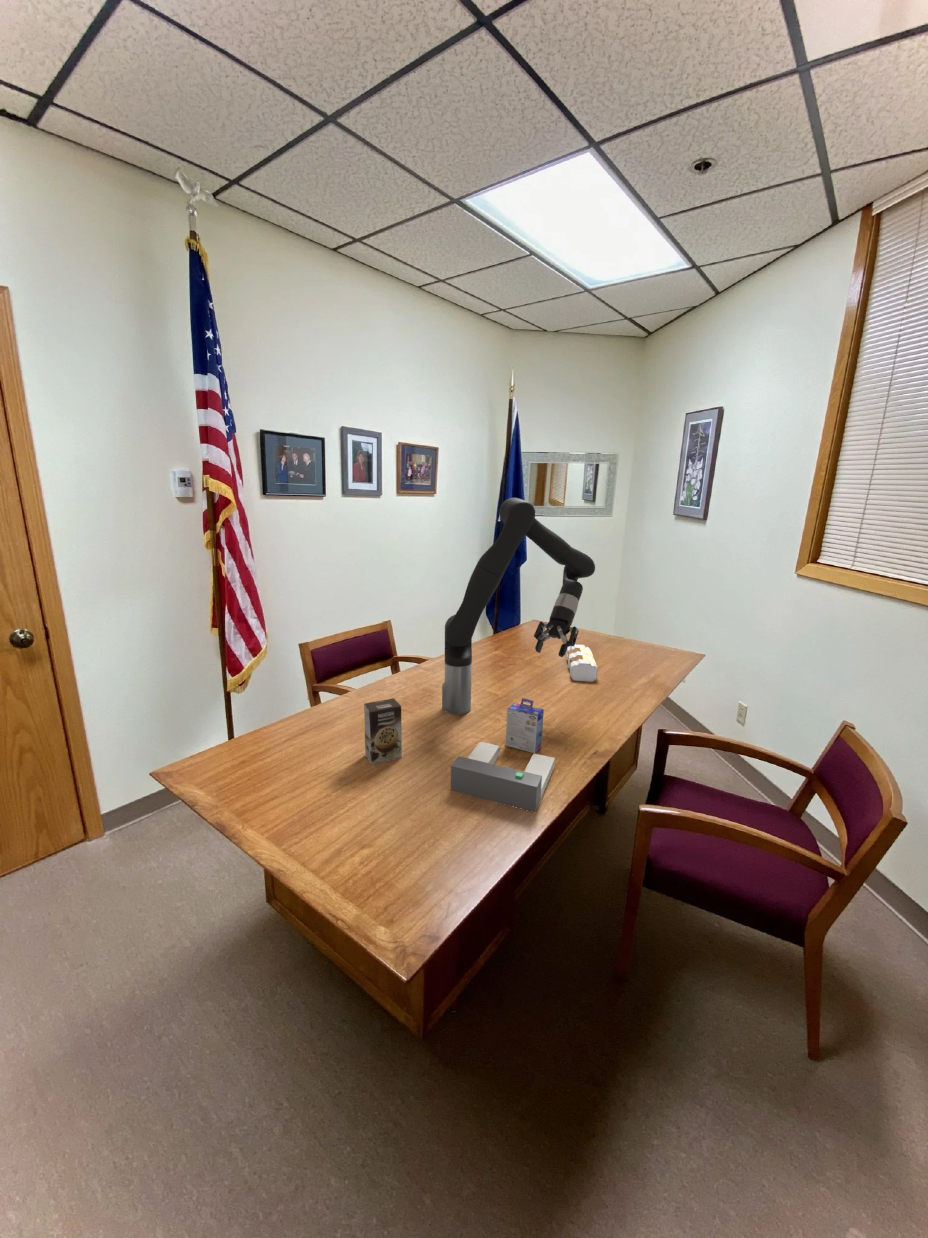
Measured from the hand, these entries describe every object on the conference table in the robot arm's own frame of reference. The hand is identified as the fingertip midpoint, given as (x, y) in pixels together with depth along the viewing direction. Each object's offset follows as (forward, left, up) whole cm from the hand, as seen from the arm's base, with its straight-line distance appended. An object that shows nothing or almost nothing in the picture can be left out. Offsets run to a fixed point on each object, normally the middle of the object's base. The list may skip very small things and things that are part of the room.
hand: (548, 653), depth 157 cm
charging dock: (-1, -40, -23) cm, 46 cm away
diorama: (+4, +51, -23) cm, 56 cm away
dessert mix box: (-36, -43, -23) cm, 61 cm away
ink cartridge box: (-1, -21, -23) cm, 31 cm away
